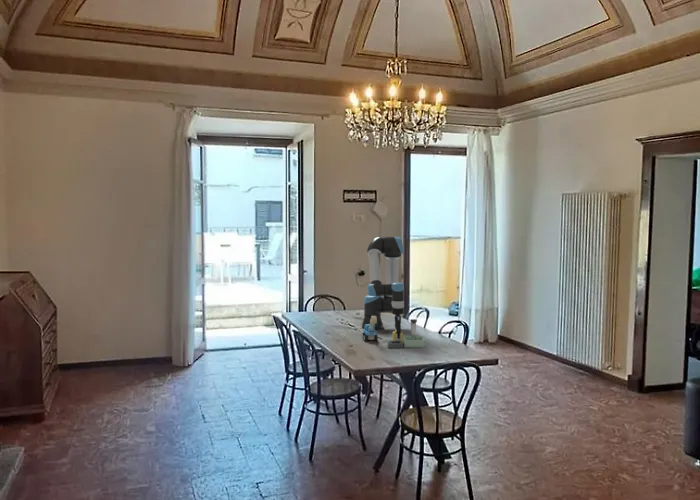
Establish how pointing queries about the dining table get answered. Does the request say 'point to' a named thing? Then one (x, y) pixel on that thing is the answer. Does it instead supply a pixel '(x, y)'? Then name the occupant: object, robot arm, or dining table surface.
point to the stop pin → (413, 329)
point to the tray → (414, 342)
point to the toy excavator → (370, 330)
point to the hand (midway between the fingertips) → (397, 341)
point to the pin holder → (395, 344)
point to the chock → (395, 336)
